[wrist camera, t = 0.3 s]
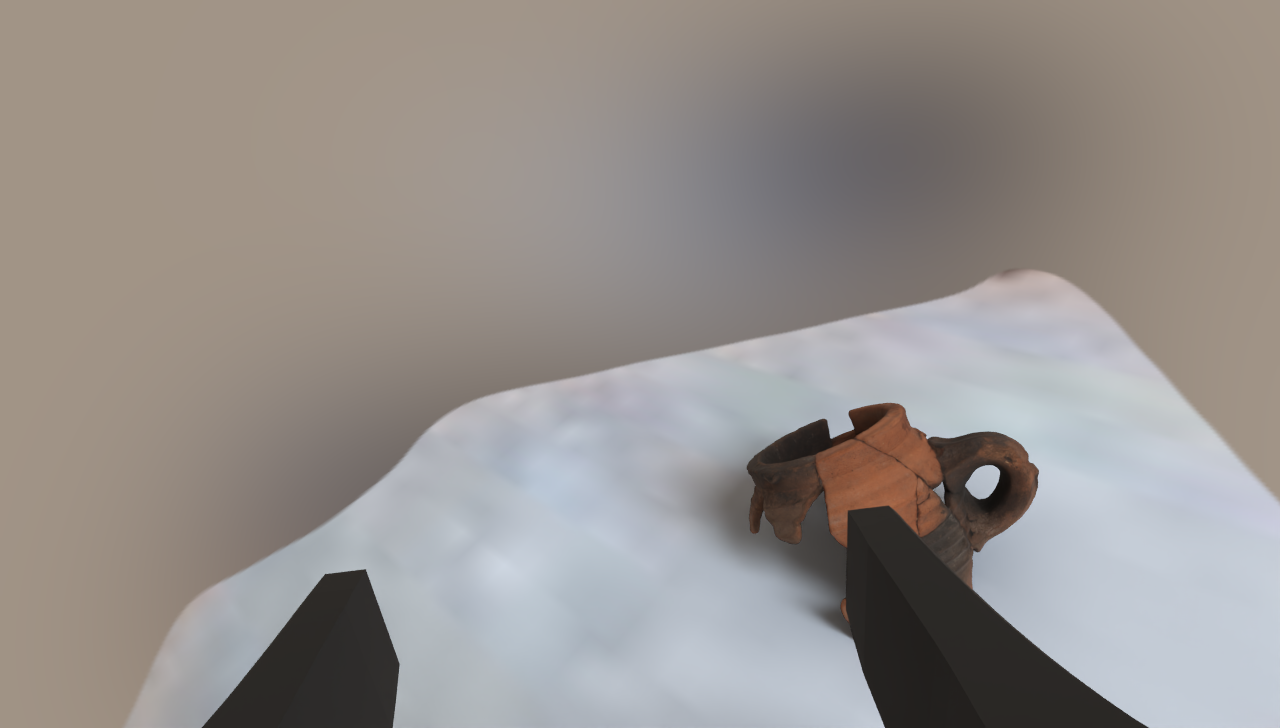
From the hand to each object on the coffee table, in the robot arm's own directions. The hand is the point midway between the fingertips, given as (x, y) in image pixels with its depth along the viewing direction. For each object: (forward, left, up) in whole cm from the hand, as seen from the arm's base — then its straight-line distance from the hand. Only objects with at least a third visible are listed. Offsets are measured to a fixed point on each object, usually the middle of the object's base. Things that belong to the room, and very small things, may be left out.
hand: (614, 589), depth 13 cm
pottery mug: (+18, -9, -21) cm, 29 cm away
